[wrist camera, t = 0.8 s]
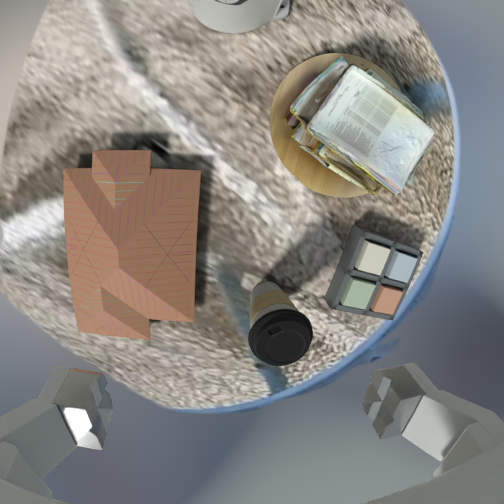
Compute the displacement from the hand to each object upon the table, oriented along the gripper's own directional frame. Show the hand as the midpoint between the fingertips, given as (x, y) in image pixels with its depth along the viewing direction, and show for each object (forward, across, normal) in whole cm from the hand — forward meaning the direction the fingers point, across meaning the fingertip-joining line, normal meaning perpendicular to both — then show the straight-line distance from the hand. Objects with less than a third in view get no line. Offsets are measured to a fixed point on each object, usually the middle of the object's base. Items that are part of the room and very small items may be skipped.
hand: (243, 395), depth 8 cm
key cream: (+40, -27, +9) cm, 49 cm away
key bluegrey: (+40, -34, +10) cm, 53 cm away
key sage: (+40, -25, +15) cm, 50 cm away
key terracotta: (+40, -32, +17) cm, 54 cm away
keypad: (+43, -30, +13) cm, 54 cm away
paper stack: (+43, -20, -13) cm, 49 cm away
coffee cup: (+43, -9, +18) cm, 48 cm away
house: (+44, +15, +10) cm, 47 cm away
